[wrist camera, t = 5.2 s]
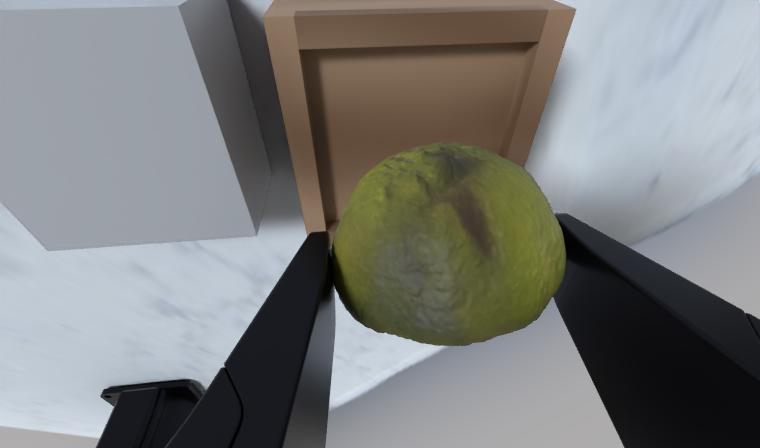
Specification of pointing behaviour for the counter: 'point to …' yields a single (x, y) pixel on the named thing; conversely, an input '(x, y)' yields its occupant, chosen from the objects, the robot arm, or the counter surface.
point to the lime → (447, 246)
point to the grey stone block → (127, 123)
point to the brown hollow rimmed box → (406, 83)
